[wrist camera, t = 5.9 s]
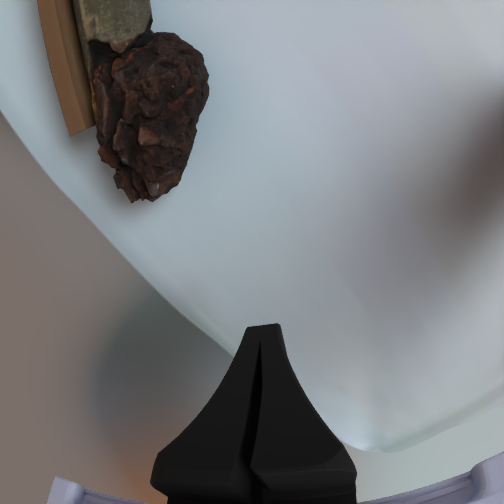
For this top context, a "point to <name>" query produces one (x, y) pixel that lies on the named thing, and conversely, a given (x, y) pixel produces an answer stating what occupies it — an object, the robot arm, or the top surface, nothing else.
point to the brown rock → (141, 94)
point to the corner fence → (67, 63)
